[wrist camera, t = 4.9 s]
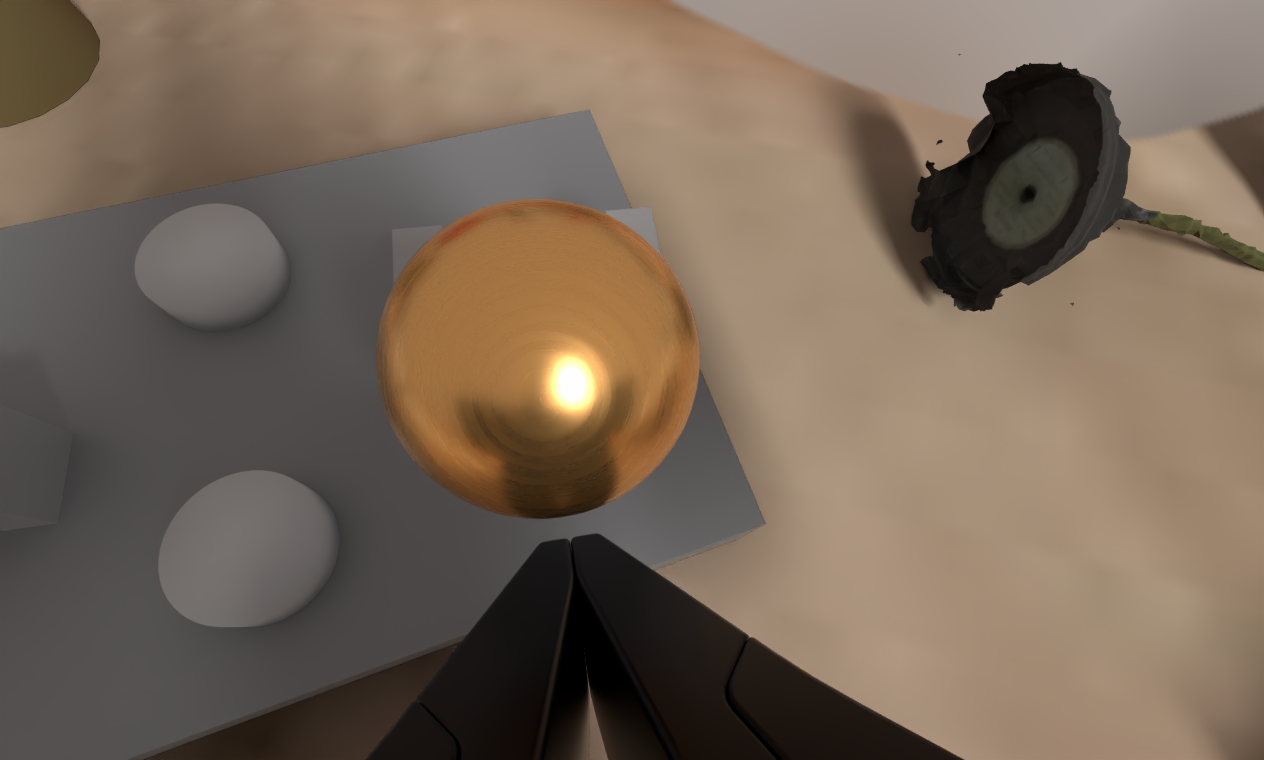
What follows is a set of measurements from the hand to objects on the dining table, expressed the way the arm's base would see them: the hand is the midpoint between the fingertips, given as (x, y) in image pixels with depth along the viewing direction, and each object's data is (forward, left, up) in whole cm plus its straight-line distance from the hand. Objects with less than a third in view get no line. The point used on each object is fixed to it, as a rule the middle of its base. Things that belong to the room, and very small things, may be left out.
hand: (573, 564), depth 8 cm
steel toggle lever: (+7, -1, -5) cm, 8 cm away
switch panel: (+6, +6, -8) cm, 12 cm away
